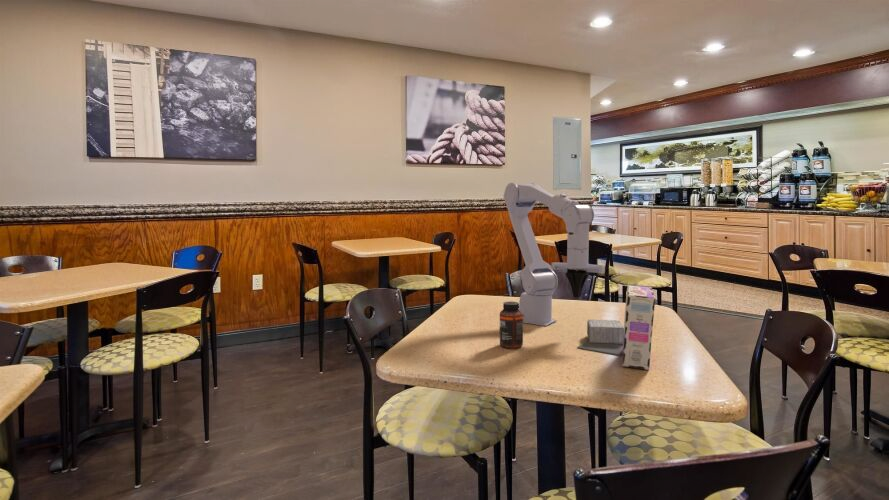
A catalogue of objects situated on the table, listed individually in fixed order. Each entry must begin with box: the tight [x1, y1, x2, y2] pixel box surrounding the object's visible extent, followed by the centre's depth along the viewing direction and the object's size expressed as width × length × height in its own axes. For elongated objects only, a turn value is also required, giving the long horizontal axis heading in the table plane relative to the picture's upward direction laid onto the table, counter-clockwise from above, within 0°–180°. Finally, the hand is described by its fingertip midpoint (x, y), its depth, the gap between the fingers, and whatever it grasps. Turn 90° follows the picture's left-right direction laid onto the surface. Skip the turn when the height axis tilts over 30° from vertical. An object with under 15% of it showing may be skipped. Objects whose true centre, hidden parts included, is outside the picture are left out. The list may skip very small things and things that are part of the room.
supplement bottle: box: [499, 300, 524, 350], centre depth 127 cm, size 6×6×11 cm
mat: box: [576, 339, 623, 357], centre depth 128 cm, size 11×16×1 cm
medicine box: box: [586, 319, 624, 344], centre depth 131 cm, size 8×4×9 cm
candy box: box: [622, 284, 656, 371], centre depth 115 cm, size 14×6×16 cm, turn 160°
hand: (577, 297), depth 137 cm, fingers closed
